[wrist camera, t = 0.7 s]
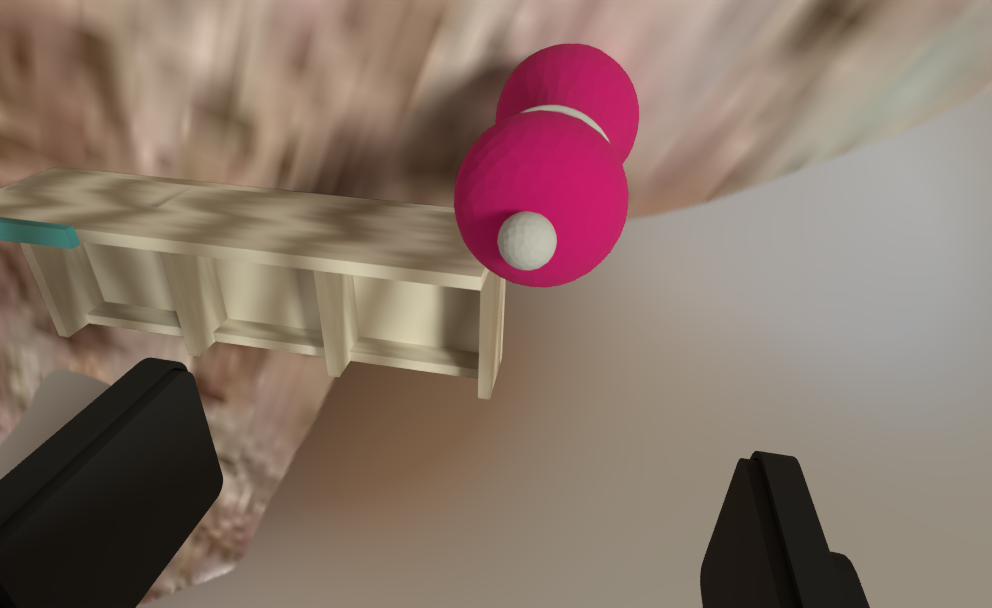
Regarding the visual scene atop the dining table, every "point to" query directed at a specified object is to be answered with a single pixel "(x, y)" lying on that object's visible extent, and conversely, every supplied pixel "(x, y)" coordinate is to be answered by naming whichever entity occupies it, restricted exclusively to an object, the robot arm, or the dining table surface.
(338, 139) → the dining table surface
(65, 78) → the dining table surface
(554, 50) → the pepper mill
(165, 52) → the dining table surface
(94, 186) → the rack
